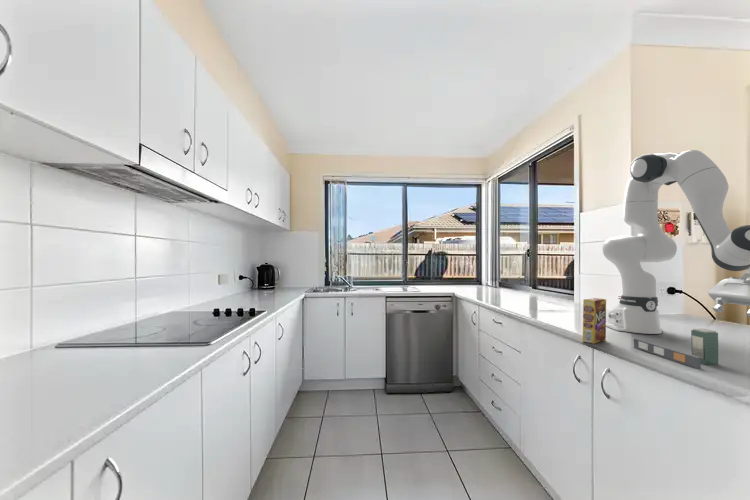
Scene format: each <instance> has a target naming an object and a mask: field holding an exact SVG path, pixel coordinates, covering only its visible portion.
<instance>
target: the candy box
mask: <svg viewBox="0 0 750 500" xmlns="http://www.w3.org/2000/svg"><path fill="white" fill-rule="evenodd" d="M582 302H583V304H582V305H583V306H582V307H583V308H582V314H583V316H582V342H583V343H584V342H585V343H589V344H592V345H593V344H598V343H601V342H605V341H606V340H607V339H606V338H607V335H606V333H607V326H606V321H607V298H602V297H601V298H600V297H592V298H587V299H585V298H584V299H583V301H582Z"/></svg>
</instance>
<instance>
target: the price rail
mask: <svg viewBox="0 0 750 500" xmlns="http://www.w3.org/2000/svg"><path fill="white" fill-rule="evenodd" d="M633 348H635V349H637V350H641V351H643V352H647V353H650V354H652V353H653V354H652V355H656V356H658V357H662V358H664V359H667V360H670V361H673V362H676V363H679V364H682V365H686V366H688V367H692V368H693V369H702V365H701V357H698V356H694V355H692V353H691V354H690V353H687V352H684V351H680V350H678V349H677V350H676V349H673V348H671V347H667V346H663V345H661V344H657V343H654V342H650V341H647V340H644V339H640V338H638V337H637V338H633Z"/></svg>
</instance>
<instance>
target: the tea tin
mask: <svg viewBox="0 0 750 500" xmlns="http://www.w3.org/2000/svg"><path fill="white" fill-rule="evenodd" d="M690 333H691V336H690V337H691V355H694V356H698V357H701V364H702V365H704V366H705V365H706V366H709V365H713V366H715V365H719V332H717V331H716V330H713V329H709V328H693V329H691V332H690Z"/></svg>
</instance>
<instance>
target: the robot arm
mask: <svg viewBox="0 0 750 500" xmlns="http://www.w3.org/2000/svg"><path fill="white" fill-rule="evenodd" d="M629 174H630V178H629V179H628V180H627V182H626V186H625V191H624V198H623V218H622V219H623V221H624V223H625V224H627V225H628V226H630V227H632V228H634V229H635V230H636V233H637V235H619V236H613V237H609V238H607V239H606V240H605V241H604V243H603V246H602V254H603V255H604V258H606V259H607V260H608V261H609V262H611V263H612V264H613V265H614V266H615V267H616V268H617V270H618V272H619V274H620V276H621V285H622V286H621V287H622V295H620V296H618V298H617V299H618V300H619V302H618V303H619V304H617V305H616V306H614V307H613V308H612V309H610V310H609V311H608V313H607V319H606V328H610V329H612V330H614V331H617V332H618V331H619V332H628V333H635V334H647V335H648V334H649V335H652V334H653V335H654V334H655V335H656V334H657V335H658V334H662V333H663V332H662V331H664V330H663V327H661V319H660V312H659V310H658V306H659V304H658V303H659V300H658V299H659V298H658V297H657V280H656V277H655V276H654V275H653V274H652V273H650V272H648V271H646V270H644V269H643V268H642V266H641V263H661V262H667V261H670V260H672V259H673V258H674V257H675V256H676V255H677V250H678V247H677V244H676V242H675V241H674V239H673V238H671V237H670V236H668V235H667V234H666V232H664V231H663V229H662V227H661V225H660V222H659V215H658V214H659V210H658V206H659V191H660V189H661V187H662V186H663V185H665V186H670V185H673V184H676V183H677V184H678V186H679V188H680V189H681V190H682V192H683V193H684V195H685V196H686V199H687V200H688V202H689V204H690V206H691V208H692V211H693V213H694V216H695V218H696V220H697V222H698V224H699V226H700V228H701V230H702V231H703V234H704V235H705V237H706V239H707V241H708V243H709V246H710V249H711V259H712V260H713V262H714V263H715V264H716V265H717V266H718V267H720V268H722V269H723V270H727V271H729V272H731V271H732V272H742V271H743V273H742V275H741V277H737V276H736V277H735V276H731V277H729V278H724V279H722V280H720V281H719V282H717V283H716V284H715V285H714V286H713V287H711V288H710V289H709V290H708V295H709V297H710V298H711V299H712V300H713V301H715V302H714V303H715V304H714V305H713V306H712V310H713V311H714V312H715V313H723V311H724V310H725V308H724V307H723V305H724V306H725V305H726V304H731V305H732V304H733V305H739V306H745V307H746V306H748V307H750V225H749V224H745V225H742V226H738V227H736V228H734V229H733V230H731V229H730V226H729V225H728V224H727V221H726V220H725V218H724V214H723V212H724V211H723V208H724V204H725V200H726V197H727V194H728V192H729V183H728V180H727V178H726V175H725V174H724V173H723V172H722V170H721V169H720V167H719V166H717V164H716V163H715V162H714V161H713V160H712V159H711V158H710V157H709V156H707V155H706V154H705V153H704V152H702V151H700V150H698V149H690V150H689V149H688V150H686V151H682V152H681V153H673V152H661V153H660V152H659V153H646V154H642V155H639V156H636V157H635V158H634V159H633V160H632V162H631V164H630V165H629ZM745 314H746V315H745V316H747V317H748V318H750V309H748V311H747V312H746V313H745Z"/></svg>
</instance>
